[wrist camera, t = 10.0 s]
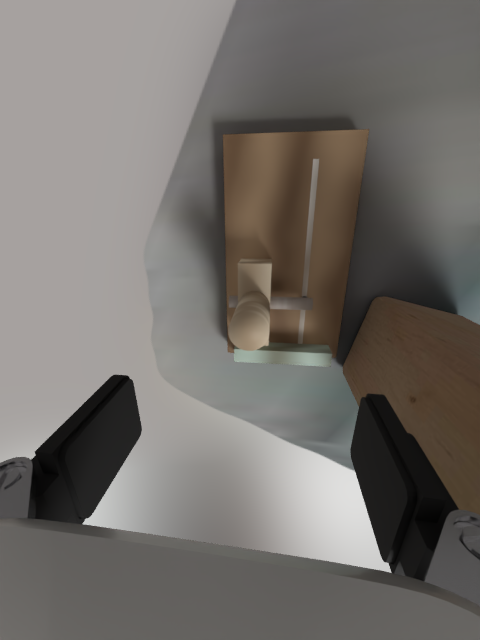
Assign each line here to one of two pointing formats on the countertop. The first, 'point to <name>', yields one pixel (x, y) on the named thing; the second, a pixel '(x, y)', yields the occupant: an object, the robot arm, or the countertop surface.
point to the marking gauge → (257, 305)
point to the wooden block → (426, 385)
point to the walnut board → (294, 232)
